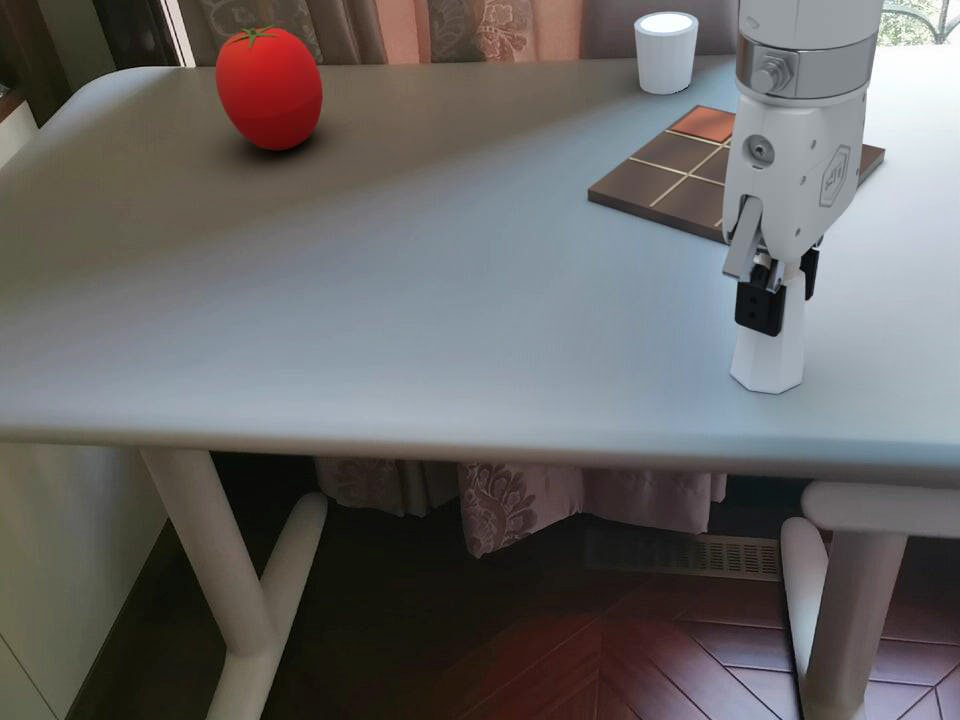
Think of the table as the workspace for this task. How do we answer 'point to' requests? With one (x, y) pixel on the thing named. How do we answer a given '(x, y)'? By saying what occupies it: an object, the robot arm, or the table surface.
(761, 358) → the pepper shaker
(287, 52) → the tomato
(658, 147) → the board
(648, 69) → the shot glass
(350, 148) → the table surface
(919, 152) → the table surface
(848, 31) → the robot arm
